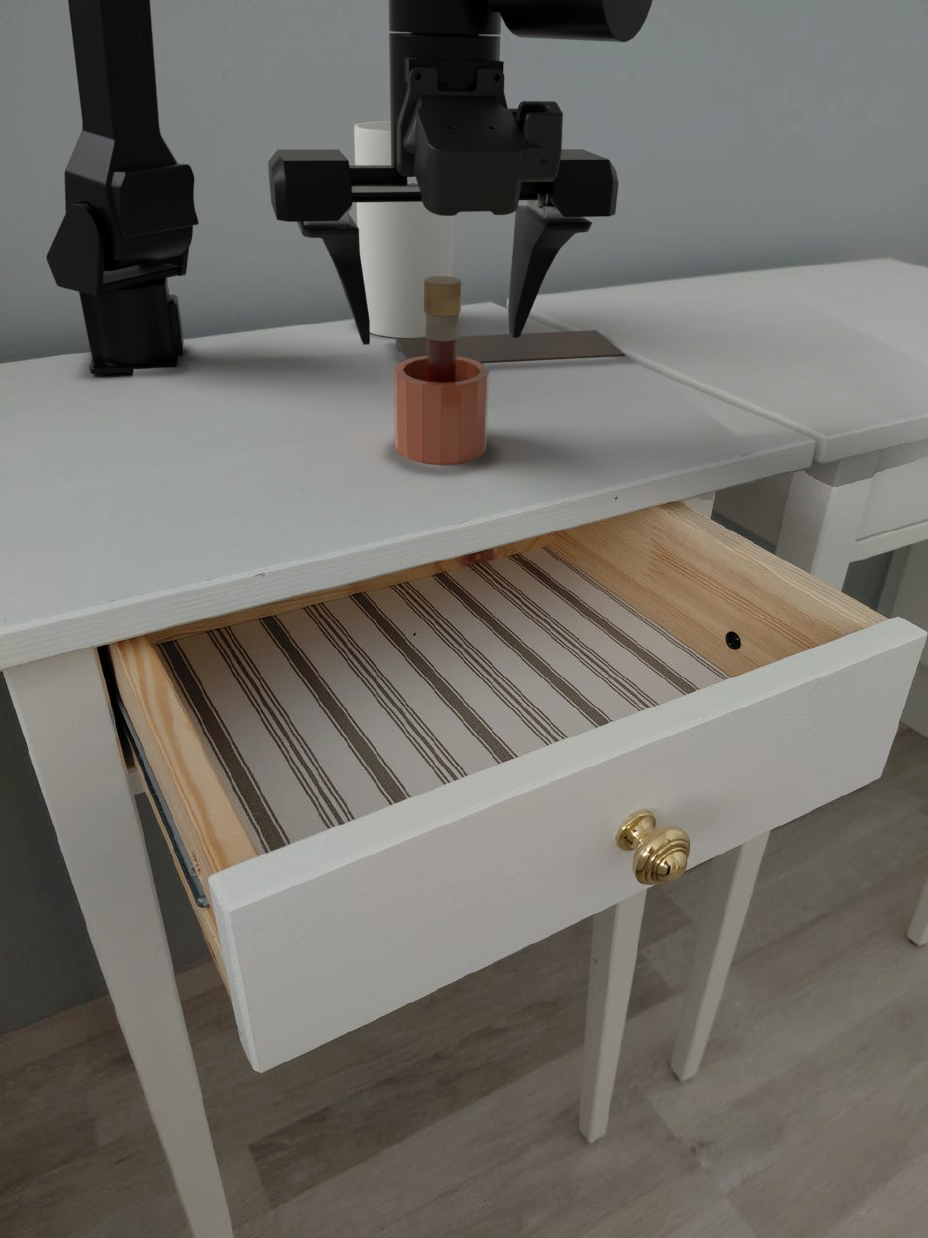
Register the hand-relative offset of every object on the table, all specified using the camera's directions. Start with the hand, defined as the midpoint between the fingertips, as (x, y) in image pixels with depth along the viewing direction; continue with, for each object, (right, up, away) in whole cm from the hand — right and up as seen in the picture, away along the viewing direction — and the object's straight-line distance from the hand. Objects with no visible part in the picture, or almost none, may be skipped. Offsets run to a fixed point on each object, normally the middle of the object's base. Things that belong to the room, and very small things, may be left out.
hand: (441, 339), depth 56 cm
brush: (0, -6, +4) cm, 7 cm away
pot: (0, -6, +4) cm, 7 cm away
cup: (-4, +10, +28) cm, 30 cm away
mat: (+5, +5, +22) cm, 23 cm away
